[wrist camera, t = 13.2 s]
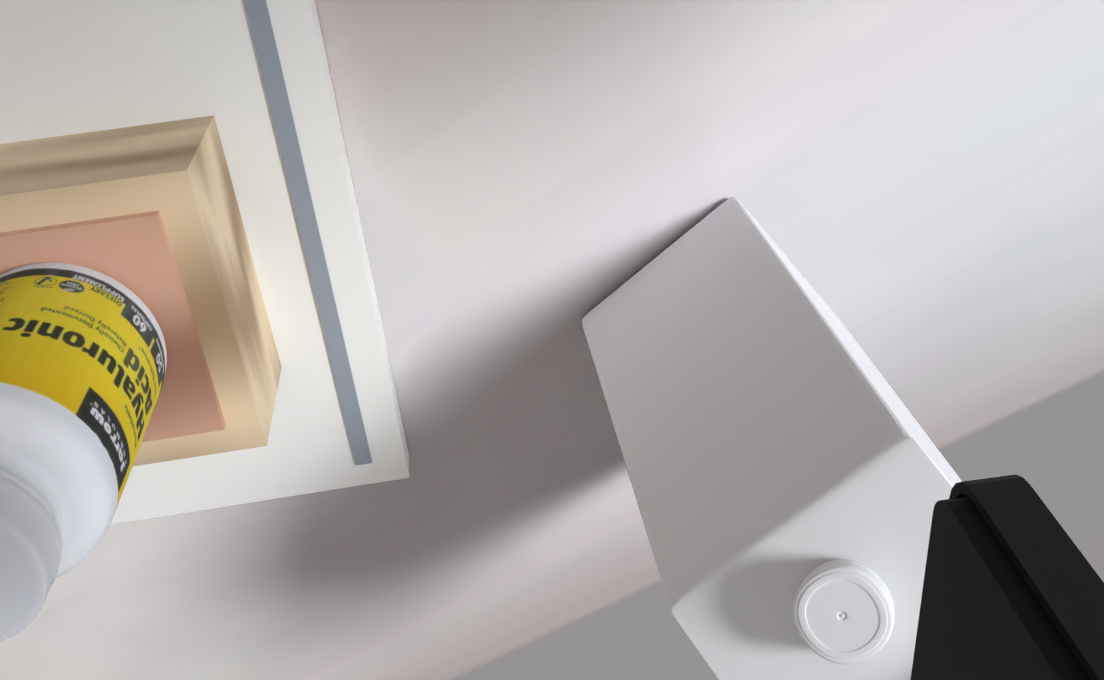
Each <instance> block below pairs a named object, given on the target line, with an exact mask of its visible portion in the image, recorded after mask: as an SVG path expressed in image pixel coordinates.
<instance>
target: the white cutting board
mask: <svg viewBox="0 0 1104 680" xmlns="http://www.w3.org/2000/svg"><path fill="white" fill-rule="evenodd" d="M213 115H214V118H215V121H216V125H217V129H218V132H219V136H220V140H221V144H222V147H223V151H224V155H225V158H226V162H227V166H228V170H229V173H230V177H231V181H232V184H233V188H234V192H235V196H236V199H237V203H238V207H239V210H240V214H241V218H242V222H243V225H244V229H245V233H246V237H247V240H248V244H249V248H250V251H251V255H252V259H253V263H254V266H255V270H256V274H257V277H258V281H259V285H260V289H261V292H262V296H263V300H264V303H265V307H266V311H267V315H268V318H269V322H270V326H271V329H272V333H273V337H274V341H275V344H276V348H277V352H278V355H279V359H280V363H281V367H282V368H281V373H280V379H279V384H278V389H277V395H276V400H275V405H274V411H273V416H272V421H271V427H270V432H269V437H268V443H267V446H263V447H257V448H250V449H244V450H237V451H230V452H224V453H217V454H211V455H204V456H198V457H191V458H185V459H178V460H172V461H165V462H159V463H152V464H145V465H139V466H133V467H132V469H131V472H130V474H129V477H128V480H127V482H126V485H125V487H124V490H123V493H122V495H121V498H120V501H119V503H118V506H117V508H116V511H115V514H114V516H113V519H112V521H111V523H110V524H117V523H123V522H130V521H136V520H142V519H149V518H155V517H162V516H168V515H175V514H181V513H187V512H194V511H200V510H207V509H213V508H219V507H226V506H232V505H239V504H245V503H251V502H258V501H264V500H271V499H277V498H284V497H290V496H296V495H303V494H309V493H316V492H322V491H328V490H335V489H341V488H348V487H354V486H361V485H367V484H373V483H380V482H386V481H393V480H399V479H405V478H409V452H408V447H407V443H406V438H405V433H404V428H403V423H402V418H401V414H400V409H399V404H398V399H397V394H396V390H395V385H394V380H393V375H392V370H391V366H390V361H389V356H388V351H387V346H386V341H385V337H384V332H383V327H382V322H381V317H380V313H379V308H378V303H377V298H376V293H375V288H374V284H373V279H372V274H371V269H370V264H369V260H368V255H367V250H366V245H365V240H364V235H363V231H362V226H361V221H360V216H359V211H358V207H357V202H356V197H355V192H354V187H353V182H352V178H351V173H350V168H349V163H348V158H347V154H346V149H345V144H344V139H343V134H342V129H341V125H340V120H339V115H338V110H337V105H336V101H335V96H334V91H333V86H332V81H331V77H330V72H329V67H328V62H327V57H326V52H325V48H324V43H323V38H322V33H321V28H320V24H319V19H318V14H317V9H316V4H315V0H0V144H5V143H12V142H19V141H27V140H34V139H42V138H49V137H57V136H64V135H71V134H79V133H86V132H94V131H101V130H109V129H116V128H123V127H131V126H138V125H146V124H153V123H161V122H168V121H175V120H183V119H190V118H198V117H205V116H213Z"/></svg>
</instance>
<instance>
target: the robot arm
mask: <svg viewBox="0 0 1104 680" xmlns="http://www.w3.org/2000/svg"><path fill="white" fill-rule="evenodd" d="M911 680H1104V583H1103V581H1102V580H1101V579H1100V577H1099V576H1098V575H1097V573H1096V572H1095V571H1094V569H1093V568H1092V567H1091V565H1090V564H1089V563H1088V561H1087V560H1086V559H1085V557H1084V556H1083V555H1082V553H1081V552H1080V551H1079V549H1078V548H1077V547H1076V545H1075V544H1074V543H1073V541H1072V540H1071V539H1070V537H1069V536H1068V535H1067V533H1066V532H1065V531H1064V530H1063V528H1062V527H1061V526H1060V524H1059V523H1058V522H1057V520H1056V519H1055V517H1054V516H1053V515H1052V513H1051V512H1050V511H1049V510H1048V508H1047V507H1046V505H1045V504H1044V503H1043V502H1042V500H1041V499H1040V497H1039V496H1038V495H1037V494H1036V492H1035V491H1034V490H1033V488H1032V487H1031V486H1030V484H1028V482H1027V481H1025V479H1024V478H1022V477H1020V476H1018V475H1010V476H1002V477H995V478H988V479H979V480H972V481H964V482H959V483H955V485H954V486H953V488H952V489H951V493H950V497H949V499H946V500H940V501H937V502H936V504H935V505H934V509H933V515H932V522H931V530H930V537H929V545H928V552H927V560H926V567H925V575H924V582H923V590H922V597H921V605H920V612H919V620H918V627H917V635H916V642H915V650H914V657H913V665H912V672H911Z"/></svg>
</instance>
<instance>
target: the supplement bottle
mask: <svg viewBox="0 0 1104 680" xmlns="http://www.w3.org/2000/svg"><path fill="white" fill-rule="evenodd" d="M166 365H167V352H166V345H165V340H164V337H163V333H162V331H161V329H160V326H159V324H158V322H157V321H156V319H155V317H154V315H153V314H152V312H151V311H150V310H149V308H148V307H147V306H146V305H145V304H144V303H143V301H142V300H141V299H140V298H139V297H138V296H137V295H135V294H134V293H133V292H132V291H131V290H129V289H128V288H127V287H125V286H124V285H123V284H121V283H120V282H118V281H116V280H115V279H113V278H111V277H109V276H107V275H105V274H103V273H101V272H98V271H95V270H93V269H90V268H86V267H83V266H79V265H74V264H68V263H58V262H48V263H37V264H30V265H26V266H22V267H18V268H15V269H13V270H10V271H8V272H6V273H3V274H2V275H0V642H2V641H4V640H7V639H9V638H11V637H13V636H15V635H16V634H17V633H19V632H20V631H22V630H23V629H24V628H25V627H26V626H27V625H28V624H29V623H30V622H32V620H33V619H34V618H35V617H36V615H37V614H38V612H39V611H40V609H41V607H42V605H43V603H44V601H45V599H46V596H47V594H48V592H49V589H50V587H51V585H52V584H53V582H54V580H55V578H57V577H59V576H61V575H62V574H64V573H66V572H68V571H69V570H71V569H72V568H74V567H75V566H76V565H78V564H79V563H80V562H81V561H82V560H84V559H85V558H86V557H87V556H88V555H89V554H90V553H91V552H92V551H93V550H94V548H95V547H96V546H97V545H98V544H99V542H100V541H101V539H102V538H103V536H104V535H105V533H106V531H107V529H108V527H109V525H110V523H111V521H112V519H113V516H114V514H115V511H116V508H117V506H118V503H119V501H120V498H121V495H122V493H123V490H124V487H125V485H126V482H127V480H128V477H129V474H130V472H131V469H132V467H133V464H134V461H135V459H136V456H137V453H138V450H139V448H140V445H141V442H142V439H143V437H144V434H145V431H146V429H147V426H148V424H149V421H150V418H151V416H152V413H153V410H154V407H155V405H156V402H157V400H158V397H159V394H160V392H161V389H162V385H163V381H164V377H165V372H166Z"/></svg>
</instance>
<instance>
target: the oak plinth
mask: <svg viewBox="0 0 1104 680" xmlns="http://www.w3.org/2000/svg"><path fill="white" fill-rule="evenodd" d="M48 262H58V263H68V264H74V265H79V266H83V267H86V268H90V269H93V270H95V271H98V272H101V273H103V274H105V275H107V276H109V277H111V278H113V279H115V280H116V281H118V282H120V283H121V284H123V285H124V286H125V287H127V288H128V289H129V290H131V291H132V292H133V293H134V294H135V295H137V296H138V297H139V298H140V299H141V300H142V301H143V303H144V304H145V305H146V306H147V307H148V308H149V310H150V311H151V312H152V314H153V315H154V317H155V319H156V321H157V322H158V324H159V326H160V329H161V331H162V333H163V337H164V340H165V345H166V352H167V365H166V372H165V377H164V381H163V385H162V389H161V392H160V394H159V397H158V400H157V402H156V405H155V407H154V410H153V413H152V416H151V418H150V421H149V424H148V426H147V429H146V431H145V434H144V437H143V439H142V442H141V445H140V448H139V450H138V453H137V456H136V459H135V461H134V464H133V466H139V465H145V464H152V463H159V462H165V461H172V460H178V459H185V458H191V457H198V456H204V455H211V454H217V453H224V452H230V451H237V450H244V449H250V448H257V447H263V446H267V443H268V437H269V432H270V427H271V421H272V416H273V411H274V405H275V400H276V395H277V389H278V384H279V379H280V373H281V368H282V367H281V363H280V359H279V355H278V352H277V348H276V344H275V341H274V337H273V333H272V329H271V326H270V322H269V318H268V315H267V311H266V307H265V303H264V300H263V296H262V292H261V289H260V285H259V281H258V277H257V274H256V270H255V266H254V263H253V259H252V255H251V251H250V248H249V244H248V240H247V237H246V233H245V229H244V225H243V222H242V218H241V214H240V210H239V207H238V203H237V199H236V196H235V192H234V188H233V184H232V181H231V177H230V173H229V170H228V166H227V162H226V158H225V155H224V151H223V147H222V144H221V140H220V136H219V132H218V129H217V125H216V121H215V118H214V115H213V116H205V117H198V118H190V119H183V120H175V121H168V122H161V123H153V124H146V125H138V126H131V127H123V128H116V129H109V130H101V131H94V132H86V133H79V134H71V135H64V136H57V137H49V138H42V139H34V140H27V141H19V142H12V143H5V144H0V275H2V274H3V273H6V272H8V271H10V270H13V269H15V268H18V267H22V266H26V265H30V264H37V263H48Z"/></svg>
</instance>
